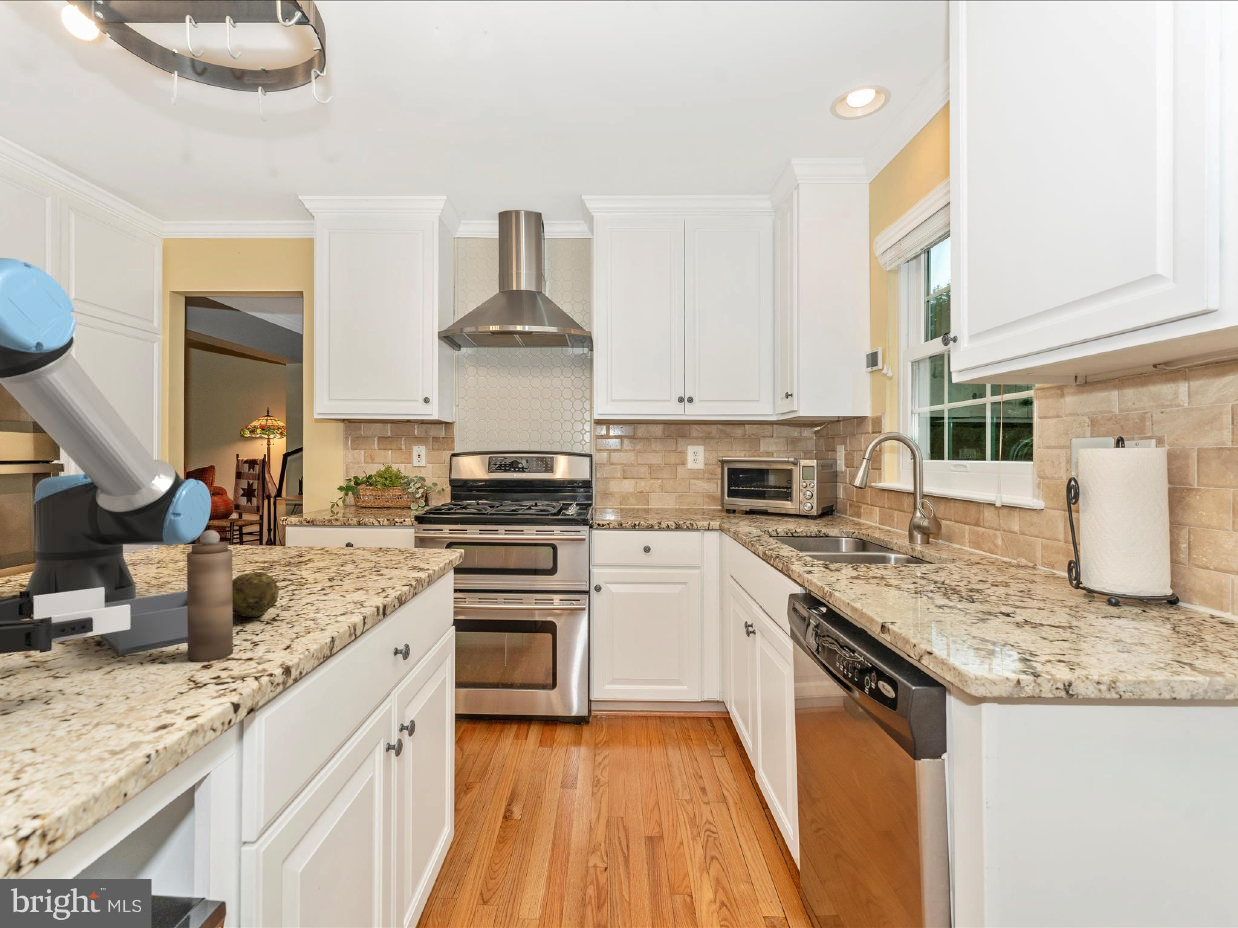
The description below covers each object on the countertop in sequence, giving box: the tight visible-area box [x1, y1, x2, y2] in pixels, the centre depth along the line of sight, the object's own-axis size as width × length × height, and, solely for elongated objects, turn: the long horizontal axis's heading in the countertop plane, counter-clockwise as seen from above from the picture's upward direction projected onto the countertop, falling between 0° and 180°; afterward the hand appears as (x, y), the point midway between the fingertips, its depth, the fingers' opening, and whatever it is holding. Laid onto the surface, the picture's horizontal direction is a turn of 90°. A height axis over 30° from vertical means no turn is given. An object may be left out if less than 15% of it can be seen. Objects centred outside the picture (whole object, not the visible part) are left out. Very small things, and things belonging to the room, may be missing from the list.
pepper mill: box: [186, 529, 234, 663], centre depth 80 cm, size 5×5×17 cm
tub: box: [99, 590, 188, 657], centre depth 88 cm, size 12×12×5 cm
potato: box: [232, 571, 280, 618], centre depth 98 cm, size 8×13×8 cm, turn 32°
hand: (116, 606), depth 72 cm, fingers open, 13 cm apart
